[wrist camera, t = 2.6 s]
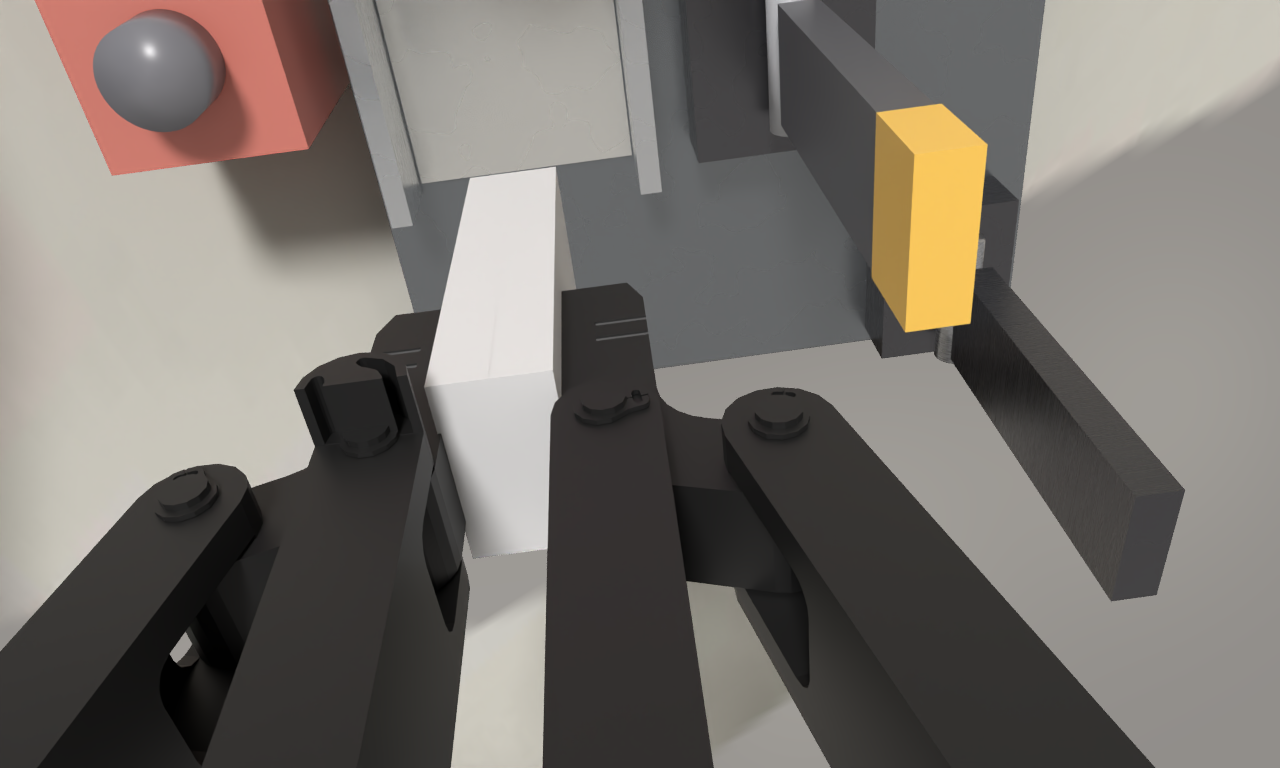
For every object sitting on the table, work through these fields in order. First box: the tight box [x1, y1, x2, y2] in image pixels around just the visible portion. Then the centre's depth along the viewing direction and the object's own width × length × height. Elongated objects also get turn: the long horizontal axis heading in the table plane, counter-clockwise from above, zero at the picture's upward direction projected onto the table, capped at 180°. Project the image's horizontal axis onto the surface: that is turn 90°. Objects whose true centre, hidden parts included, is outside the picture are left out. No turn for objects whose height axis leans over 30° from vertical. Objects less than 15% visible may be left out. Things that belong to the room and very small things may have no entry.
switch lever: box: [765, 0, 988, 332], centre depth 20 cm, size 1×4×12 cm, turn 6°
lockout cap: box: [35, 0, 350, 176], centre depth 25 cm, size 5×5×8 cm
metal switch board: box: [327, 0, 1185, 601], centre depth 23 cm, size 20×17×16 cm
